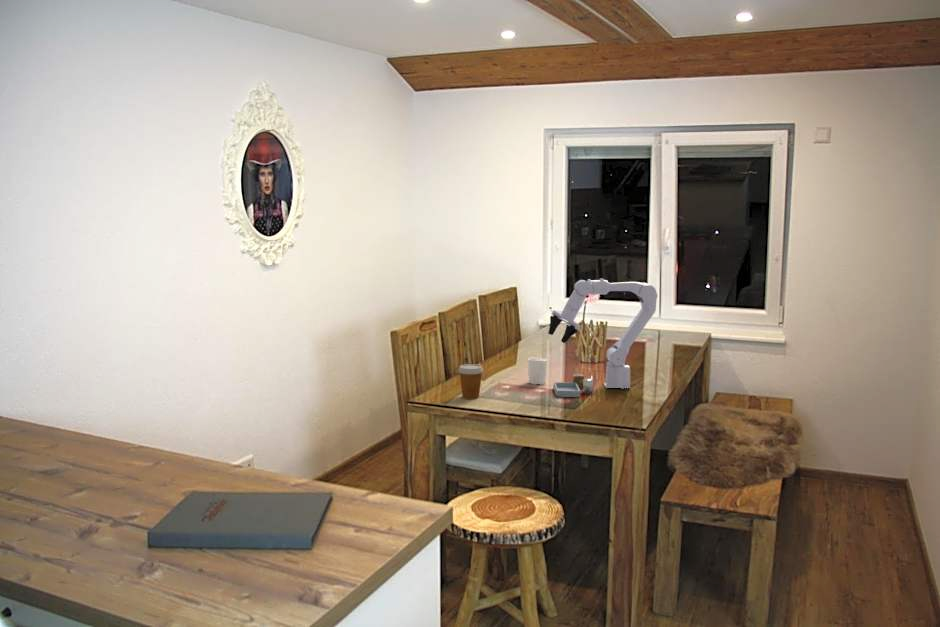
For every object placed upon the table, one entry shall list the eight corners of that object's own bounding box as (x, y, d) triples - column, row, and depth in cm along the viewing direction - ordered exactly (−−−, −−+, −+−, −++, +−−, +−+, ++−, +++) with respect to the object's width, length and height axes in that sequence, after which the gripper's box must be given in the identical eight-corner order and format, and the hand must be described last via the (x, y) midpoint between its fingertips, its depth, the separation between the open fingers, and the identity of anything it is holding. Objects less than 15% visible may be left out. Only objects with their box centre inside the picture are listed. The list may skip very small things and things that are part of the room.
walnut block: (582, 386, 322) (582, 374, 321) (583, 388, 318) (583, 376, 317) (572, 386, 322) (572, 374, 321) (573, 388, 318) (573, 376, 317)
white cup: (545, 385, 323) (546, 361, 321) (526, 384, 324) (526, 360, 323) (547, 381, 330) (548, 357, 329) (528, 380, 332) (529, 356, 330)
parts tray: (576, 388, 318) (576, 382, 318) (580, 397, 304) (580, 390, 304) (553, 388, 318) (553, 382, 318) (556, 396, 304) (556, 390, 304)
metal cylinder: (592, 390, 314) (592, 378, 313) (593, 393, 310) (594, 380, 309) (582, 390, 314) (582, 378, 313) (583, 393, 310) (583, 380, 309)
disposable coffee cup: (474, 401, 297) (474, 370, 296) (453, 398, 302) (453, 367, 301) (487, 396, 305) (487, 365, 304) (466, 392, 310) (466, 362, 309)
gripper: (553, 298, 318) (538, 328, 320) (578, 312, 308) (562, 343, 310) (564, 302, 323) (549, 332, 325) (589, 317, 313) (573, 347, 315)
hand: (556, 338), depth 318 cm, fingers open, 7 cm apart
